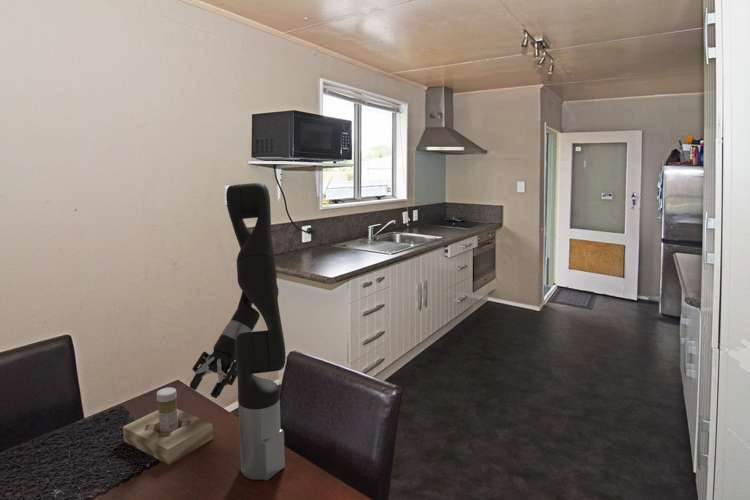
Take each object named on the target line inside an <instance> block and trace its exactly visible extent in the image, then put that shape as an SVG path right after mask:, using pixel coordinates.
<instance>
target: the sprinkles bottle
mask: <svg viewBox="0 0 750 500" xmlns="http://www.w3.org/2000/svg"><path fill="white" fill-rule="evenodd" d="M177 398H178V397H177V389H176V388H174V387H164V388H162V389H159V390H158V391H157V392H156V401H157V405H158V409H157V410H159V411H158V412H159V424H160V433H168V432H173V431H175V430H177V429H178V414H177V409H178V407H177V406H178V405H177V404H178V403H177Z"/></svg>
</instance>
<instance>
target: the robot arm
mask: <svg viewBox="0 0 750 500" xmlns="http://www.w3.org/2000/svg"><path fill="white" fill-rule="evenodd" d="M269 192H270V191H269V189H268V187H267V186H266V184H264V183H263V182H254V183H252V182H251V183H241V184H240V183H239V184H233V185H229V186H228V187H227V188H226V193H225V194H226V195H225V197H226V199H225V200H226V201H225V202H226V207H227V212H228V215H229V219H230V222H231V224H232V228H233V231H234V235H235V237H236V239H237V242H238V245H239V249H240V250H239V251H238V254H237V256H236V257H237V258H236V274H237V284H238V285H239V288H240V290H241V295H240V299H239V302H238V305H237V307H236V308H237V309H236V310H235V312H234V313H233V315H232V317H231V318H230V320H229V322H228V323H227V324H226V326H225V327H224V329H222V330H223V331H222V332H221V333H220V335H219V337H218V339H217V341H216V342H215V344H214V345H213V346H212V347H213V351H212V353H211V354H210V353H208V352H207V351H203V352H202V353H201V355H200V357H199V358H198V359H197V361H196V362H195V364H194V365H193V367H192V369H191V370H192V371H193V372H194V376H193V378H192V379H191V381H190V383H189V388H190V389H192V390H193V391H196V390H197V389H198V387H199V386H200V384H201V382H202V380H203V377H205V376H207V375H208V374H209V375H210V374H211V373H213V374H217V376H218V382H216V384H215V386H214V387H213V389H212V390H211V392H210V397H212V398H214V399H217V398H218V397H219V396H220V395H221V393H222V391H223V389H224V388H225V386H226V387H227V386H228V385H230V386H232V385H234V383H235V381H236V380H237V406H238V407H237V408H238V427H239V454H240V472H241V474H242V476H244V477H245V478H247V479H250V480H257V481H258V480H264V481H265V482H266V481H269V480H270V479H271V478H272V477H274V476H275V475H276V474H277V473H279V472H280V471H282V470H283V469H284V468H286V467H285V465H286V464H285V463H286V462H285V461H286V460H285V431H284V430H283V429H282V428H281V395H280V387H279V385H278V384H277V383H276V382H275V381H273V380H270V379H266V378H263V377H260V376H257V375H256V374H264V373H272V372H279V371H281V370H283V369H284V368H285V365H286V360H287V359H286V358H287V357H286V354H287V353H286V345H285V338H284V333H283V327H282V320H281V315H280V306H279V298H278V297H279V286H278V282H277V268H276V259H275V254H274V253H275V252H274V245H273V237H272V221H271V219H272V215H271V197H270V193H269ZM256 218H257V219H256ZM245 219H246V220H247V219H256V222H255V225H254V227H253V229H252V232H251V231H250V229H249V228H248V227H247V225H246V222H245V221H244V220H245ZM252 305H253V306H254V307H256V309H255V308H254V307H252ZM260 316H261V317H262V318H263V320H264V323H265V325H266V328H267V330H255V331H254V329H255V327H256V325H257V323H258V322H259V320H260Z"/></svg>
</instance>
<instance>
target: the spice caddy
mask: <svg viewBox="0 0 750 500" xmlns="http://www.w3.org/2000/svg"><path fill="white" fill-rule="evenodd" d="M158 411H159V409H157V410H155V411H153V412H151V413H149V414H146V415H144V416H143V417H140V418H138V419H136V420H134V421H132V422H130V423H128V424H125V425H123V426H122V431H123V433H122V434H123V441H124V442H125V443H127V444H128V445H130V446H133V447H134V448H136V449H137V450H140V451H141V452H143V453H145V454H147V455H149V456H151V457H153V458H155V459H157V460H158V459H159V461H160V462H162V463H164V464H166V465H168V466H169V465H171V464H173V463H174V462H176V461H178V460H180V459H181V458H183V457H185V456H186V455H188V454H190V453H191V452H193V451H194V450H196V449H198V448H200V447H201V446H203V445H205V444H207V443H209V441H211V440H213V439H214V429H213V423H210V422H208V421H205V420H204V419H201V418H199V417H197V416H195V415H193V414H190V413H187V412H186V411H183V410H180V409H178V408H177V414H178V429H177V430H175V431H173V432H168V433H160V424H159V412H158Z"/></svg>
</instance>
